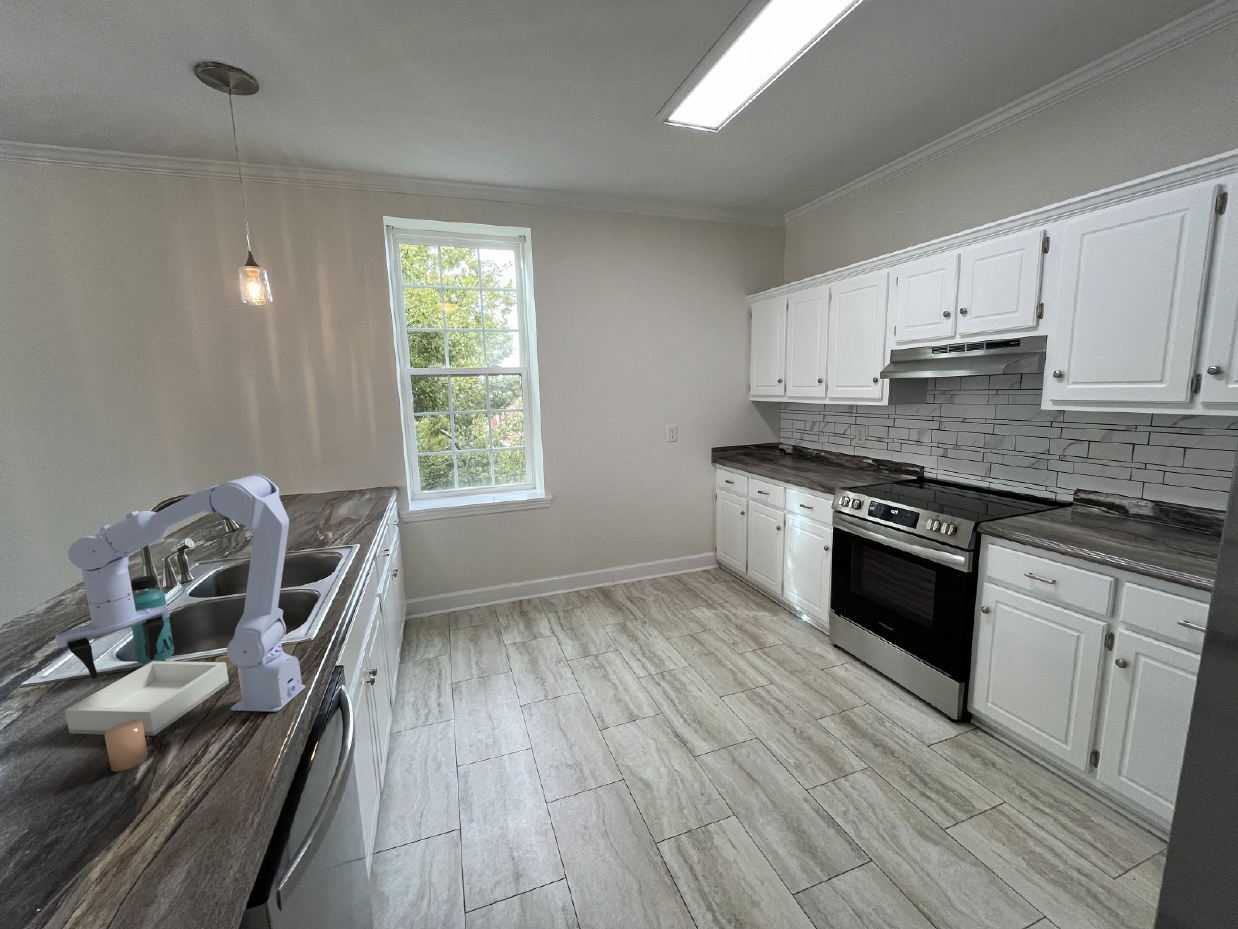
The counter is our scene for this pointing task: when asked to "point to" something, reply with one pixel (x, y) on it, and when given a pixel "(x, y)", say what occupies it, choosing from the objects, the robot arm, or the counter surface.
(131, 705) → the bin
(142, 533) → the robot arm
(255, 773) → the counter surface
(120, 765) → the peach cylinder
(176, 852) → the counter surface
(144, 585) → the beverage bottle
